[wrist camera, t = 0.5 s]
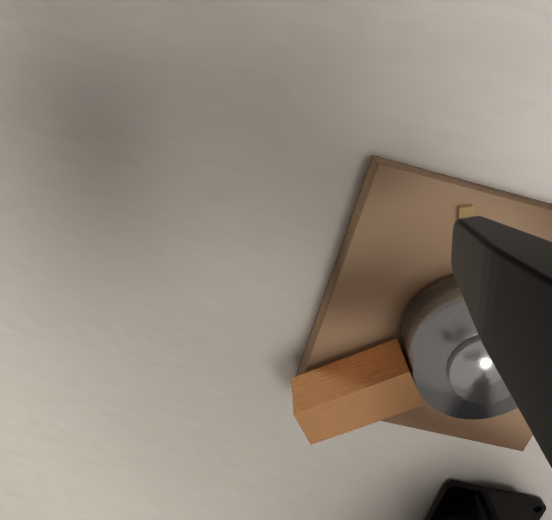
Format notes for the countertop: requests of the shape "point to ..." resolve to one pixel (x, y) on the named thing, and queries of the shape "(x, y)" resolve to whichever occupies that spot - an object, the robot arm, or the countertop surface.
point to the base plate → (411, 275)
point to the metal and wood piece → (406, 372)
